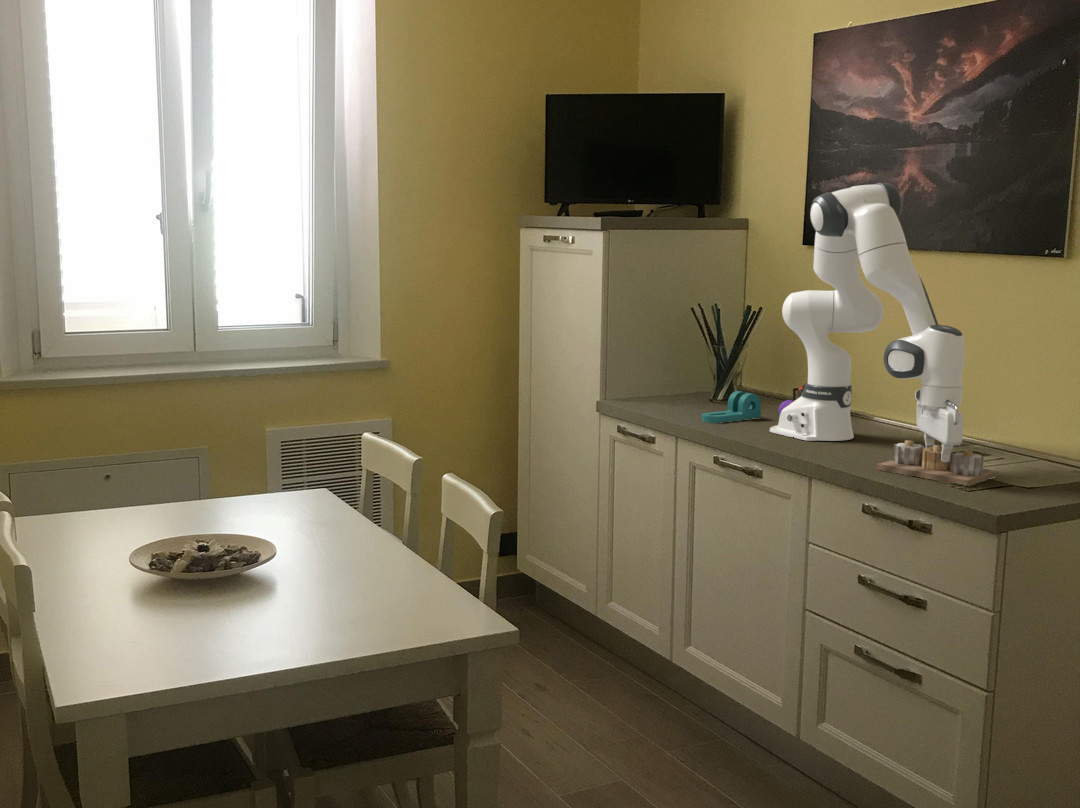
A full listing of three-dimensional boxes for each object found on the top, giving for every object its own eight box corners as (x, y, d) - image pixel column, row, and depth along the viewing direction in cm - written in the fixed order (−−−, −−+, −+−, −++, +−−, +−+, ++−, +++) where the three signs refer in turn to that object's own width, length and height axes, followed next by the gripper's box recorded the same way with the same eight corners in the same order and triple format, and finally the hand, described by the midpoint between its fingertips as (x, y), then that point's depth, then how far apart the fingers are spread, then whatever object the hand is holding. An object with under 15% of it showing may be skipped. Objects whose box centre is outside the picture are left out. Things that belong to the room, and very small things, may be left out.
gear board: (876, 470, 259) (878, 442, 258) (908, 461, 268) (910, 435, 267) (967, 487, 243) (969, 457, 242) (997, 477, 252) (999, 449, 251)
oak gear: (916, 464, 258) (917, 447, 257) (943, 463, 259) (944, 447, 258) (929, 470, 252) (930, 453, 251) (957, 470, 252) (958, 452, 252)
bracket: (745, 416, 331) (746, 390, 329) (760, 419, 325) (761, 393, 324) (696, 421, 322) (697, 394, 320) (711, 425, 316) (712, 397, 315)
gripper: (972, 405, 242) (968, 467, 245) (939, 390, 263) (935, 448, 265) (943, 404, 242) (939, 467, 245) (912, 390, 263) (909, 448, 265)
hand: (937, 457), depth 255 cm, fingers open, 8 cm apart
